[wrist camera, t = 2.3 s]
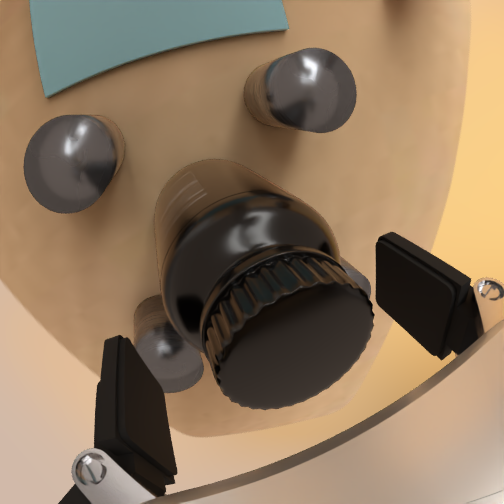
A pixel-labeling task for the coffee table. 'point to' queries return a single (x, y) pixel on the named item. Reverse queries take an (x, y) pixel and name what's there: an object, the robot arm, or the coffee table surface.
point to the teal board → (134, 31)
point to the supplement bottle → (257, 285)
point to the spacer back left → (165, 348)
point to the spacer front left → (73, 161)
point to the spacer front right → (302, 91)
